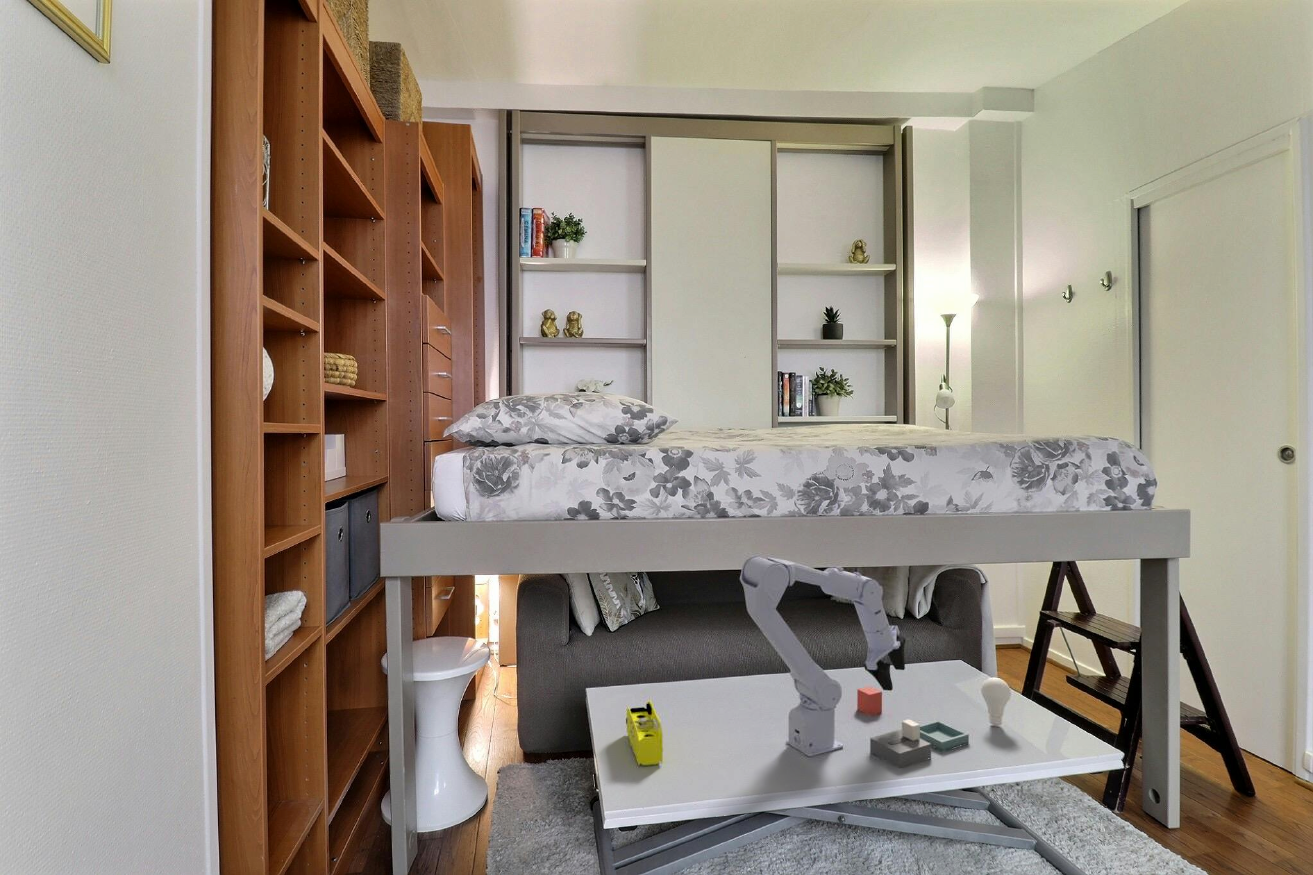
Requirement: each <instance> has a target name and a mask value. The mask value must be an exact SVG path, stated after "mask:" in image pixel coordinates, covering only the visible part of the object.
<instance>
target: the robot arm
mask: <svg viewBox="0 0 1313 875" xmlns="http://www.w3.org/2000/svg"><path fill="white" fill-rule="evenodd" d="M739 581H740V583H741V584H742V588H743V591H744V593H743V594H744V598H745V605H746V611H747V613H748V615H749V617H751V619H752V620H753V621H754V623H755V624H756V626H757V627H758V628H759V629H760V631H761V632H762V634H763V635H764V636H765V637H766V639H767V640H768V642H769V643H770V645H771V646H772V647H773V648H774V650H775V651H776V652H777V654H778V655H779V657H780V658H781V659H782V661H783V662H784V663H785V664H786V665H787V667H788V668H789V669H790V670H789V671H790V672H789V675H790V676H791V678H792V680H793V684H794V686H793V687H794V689H795V690H796V692H797V693H799V694H798V695H799V699H800V701H799V703H798V705H796V706H795V707H793V708H792V709H790V711H789V713H788V738H787V739H786V740H785V743H787V744H789V745H790V746H792V747H793V748H794V749H796V750H798V751H800V752H801V753H803V755H804V754H805V755H806V756H807V757H813V756H817V755H820V754H823V753H824V754H825V753H827V752H830V751H834V750H839V749H841V748H844V744H843V743H841V742H839V741H838V740H836V739H835V731H836V730H835V725H836V724H835V713H836V712H835V709H836V708H837V705H838V704H839V703H840V701H841V698H842V694H843V690H842V689H843V688H842V686H841V684H840V682H839V681H837V680H836V679H834V678H832V677H830V676H829V675H828V673H826V672H827V671H824V669H823V668H821V667H820V666H819V665H818V664H817V663H816V662H815V661H814V659H813V658H812V657H811V656H810V654H809V653H808V651H807V650H806V648H805V647H804V646H803V645H802V643H801V642H800V641H799V639H798V638H797V637H796V635H795V634H794V632H793V631H792V630H791V628H790V627H789V625H788V624H787V623H786V622H785V620H784V619H783V617H782V616H781V614H780V613H779V612H778V610H777V606H778V604H779V603H780V601H781V599H782V597H783V596H784V593H785V591H786V589H787V587H788V586H789V587H792V586H793V585H794V583H795V582H797V581H798V582H802V583H807V584H811V585H816V586H819V587H820V588H821V590H822V592H824V594H826V595H829V596H830V595H831V596H834V597H838V598H841V599H846V600H851V601H853V605H854V607H855V610H856V613H857V616H858V619H859V622H860V624H861V627H862V631H863V633H864V636H865V639H866V641H867V645H868V646H867V656H866V660H865V661H864V664H863V668H864V670H865V671H866V672H868V673H869V674H870V675H871V676H872V677H873V678H874V679H875V680H876V682H877V683H878V684H879V686H880V687H881V688H882V690H883V691H892V690H893V685H894V684H893V681H892V678H891V664H892V666H893V668H894V669H895V671H896V670H897V671H898V670H899V671H904V670H905V669H906V665H905V646H906V638H905V636H899V635H900V634H901V632H900V629H899V627H898V625H890V624H889V621H888V617H887V614H886V611H885V608H884V604H883V593H884V590H883V586H881V585H880V584H879V582H878V581H877V580H875V579H874V578H873V579H872V578H870V577H868V576H863V575H861V573H860V572H856V571H854V572H853V573H852V572H848V571H846V570H844V568H843V567H841V566H838V565H835V566H834V567H827V568H826V569H824V570H823V571H822V570H819V569H815V568H812V567H810V566H806V565H804V564H799V563H796V562H793V561H791V560H785V559H782V558H781V559H780V558H775V557H768V556H767V557H765V558H764V557H763V556H760V555H752V556H750V557H748V558H746V560H745V561H743V564H742V567H741V572H740V576H739ZM887 655H888V657H889V660H890V662H891V663H889V662H888V663H887V662H884V661H882V659H883V658H884V657H885V656H887Z"/></svg>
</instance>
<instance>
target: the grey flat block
mask: <svg viewBox="0 0 1313 875" xmlns="http://www.w3.org/2000/svg"><path fill="white" fill-rule="evenodd" d="M869 739H870V744H869V745H870V746H869V749H870V750H869V751H870V753H871V754H873V755H875V756H877V757H878V758H880V759H882V760H884V761H886V762H888V763H890V764H891V765H893V766H895V767H896V768H898V769H901V768H905V767H908V766H910V765H913V764H917V763H920V761H921V762H924V761H927V760H929V759H928V758H930V759H931V758H932V746H931V744H930V743H928V742H926V741H924V740H922V739H917V740H914V741H912V740H911V739H909V738H907V737H905V736H903V735H902V728H901V729H898V730H893V731H890V732H887V733H883V734H880V735H875V736H872V737H870V738H869ZM926 759H927V760H926ZM923 760H924V761H923Z"/></svg>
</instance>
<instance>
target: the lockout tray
mask: <svg viewBox="0 0 1313 875" xmlns="http://www.w3.org/2000/svg"><path fill="white" fill-rule="evenodd" d="M969 736H970V734H969V733H967V732H965V731H963V730H961V729H958V728H957V727H953V726H952V725H950V724H947V723H945V722H942V721H940V720H933V721H931V722H927V723H924V724H920V739H922V740H924V741H926V742H928V743H930V744H931V748H934V747H935V748H934V749H935V750H938V751H940V752H942V751H943V752H946V751H949V750H952V748H953V749H955V748H954V747H956V748H958V746H959V747H961V746H960V745H962V746H964V744H965V745H968V743H969V742H970V741H969V740H970V738H969ZM948 749H949V750H948ZM945 750H946V751H945Z"/></svg>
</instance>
